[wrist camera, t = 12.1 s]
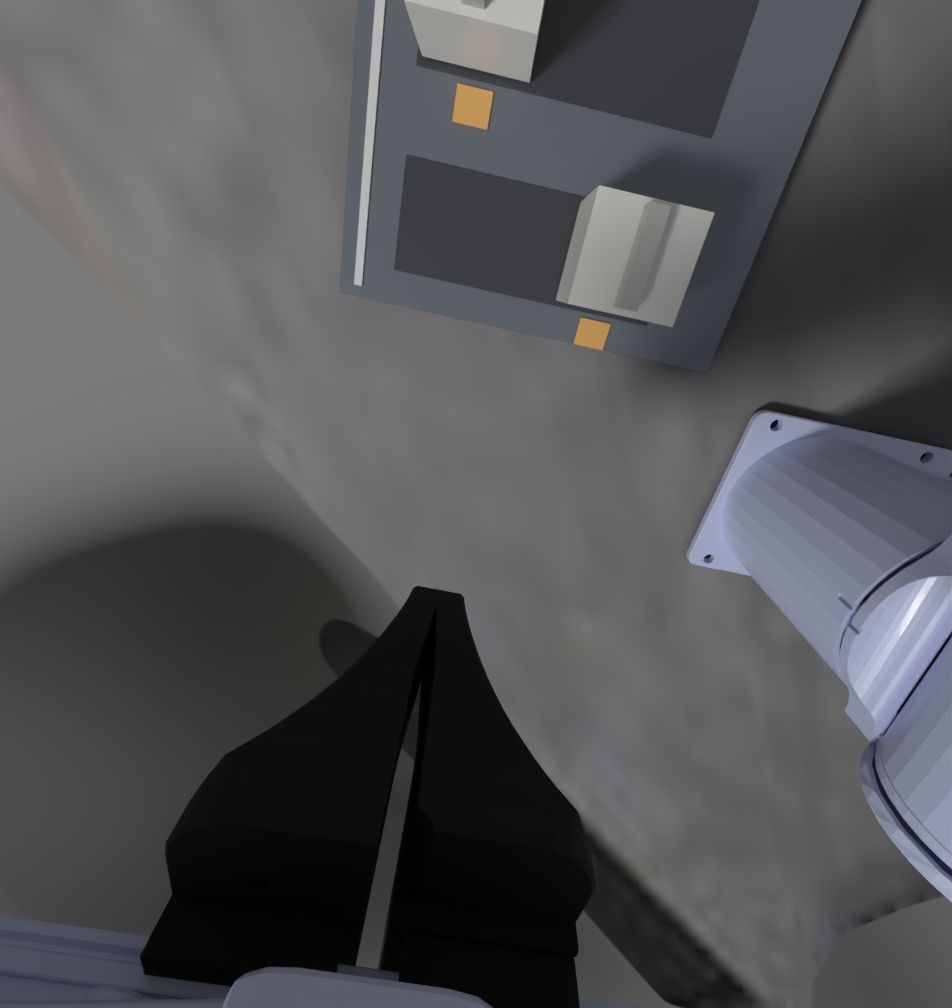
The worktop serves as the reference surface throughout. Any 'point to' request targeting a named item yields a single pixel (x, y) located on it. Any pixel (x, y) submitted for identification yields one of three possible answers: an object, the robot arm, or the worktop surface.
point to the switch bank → (578, 157)
